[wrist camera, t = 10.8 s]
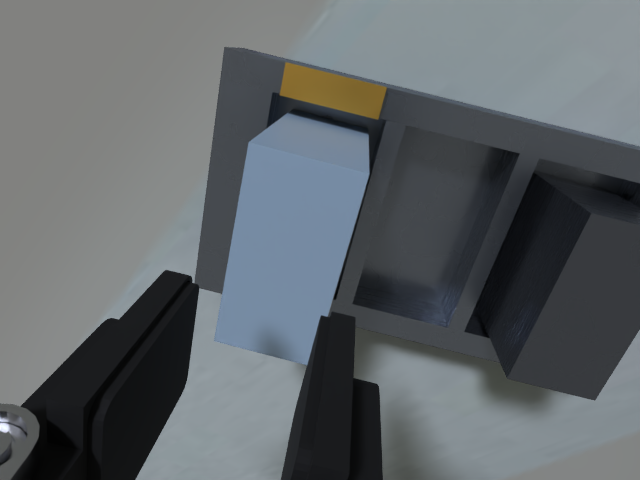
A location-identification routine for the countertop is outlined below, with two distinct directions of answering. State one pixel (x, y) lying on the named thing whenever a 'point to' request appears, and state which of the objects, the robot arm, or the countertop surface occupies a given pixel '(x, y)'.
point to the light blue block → (291, 233)
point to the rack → (456, 222)
